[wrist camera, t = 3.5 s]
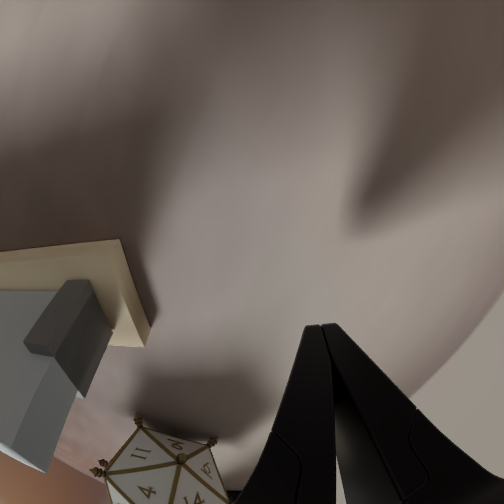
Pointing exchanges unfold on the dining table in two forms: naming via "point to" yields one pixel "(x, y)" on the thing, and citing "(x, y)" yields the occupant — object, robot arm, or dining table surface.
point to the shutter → (46, 364)
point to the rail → (83, 268)
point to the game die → (162, 471)
